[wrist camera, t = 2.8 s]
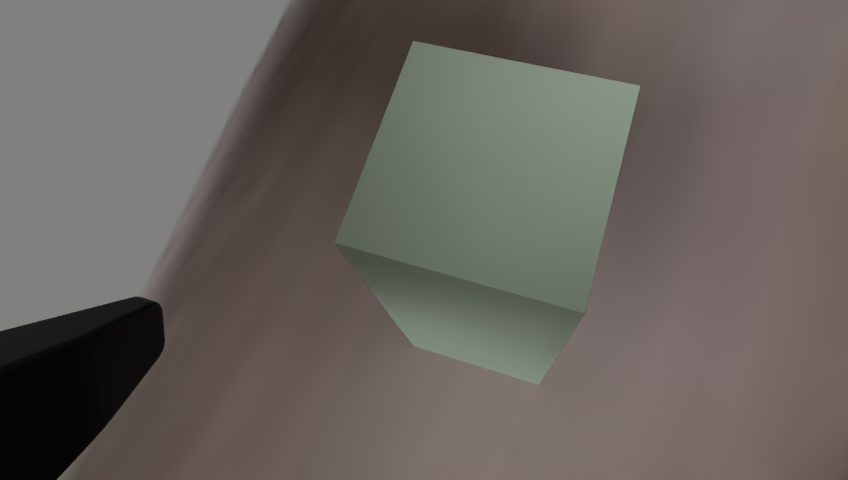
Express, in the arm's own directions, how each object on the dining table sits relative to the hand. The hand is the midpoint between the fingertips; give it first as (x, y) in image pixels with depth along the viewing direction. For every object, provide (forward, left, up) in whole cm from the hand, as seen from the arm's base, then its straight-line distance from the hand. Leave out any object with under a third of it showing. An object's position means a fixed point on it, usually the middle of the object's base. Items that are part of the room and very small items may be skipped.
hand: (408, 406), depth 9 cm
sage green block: (+4, +2, -11) cm, 12 cm away
